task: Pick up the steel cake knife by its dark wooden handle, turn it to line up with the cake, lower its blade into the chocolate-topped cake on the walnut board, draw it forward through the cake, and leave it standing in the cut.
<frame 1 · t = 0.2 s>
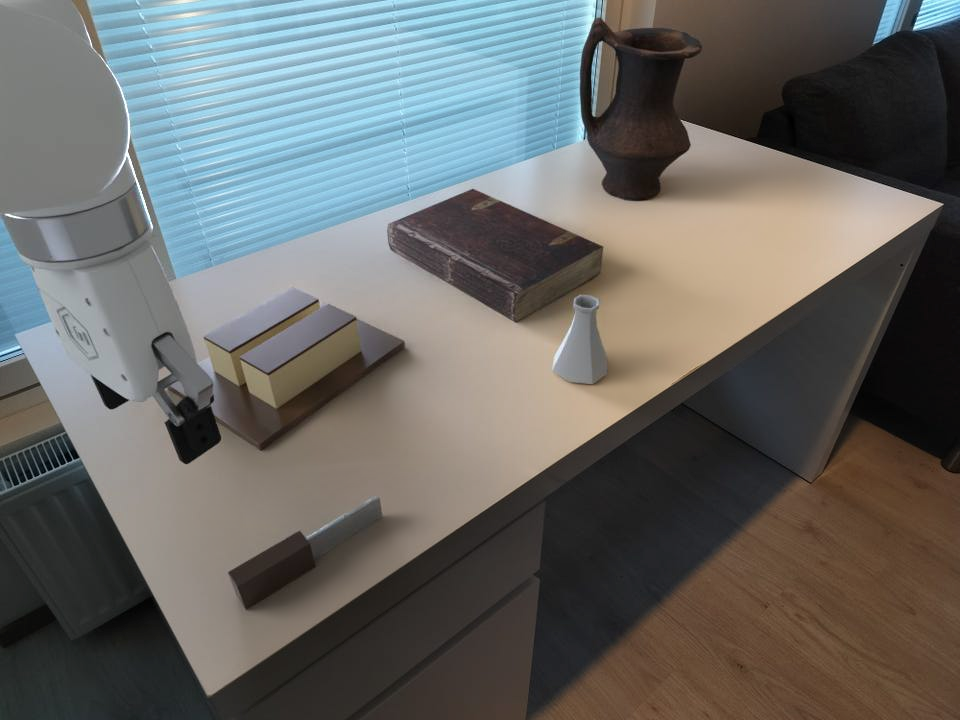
hand: (162, 424, 52), 19 cm above the table, tool pointing down, fingers open, 9 cm apart
cake board: (290, 367, 88), on the table
jug: (625, 189, 131), on the table
knife: (315, 557, 65), on the table
flask: (579, 368, 87), on the table
hardback book: (491, 263, 109), on the table
cake: (285, 343, 86), on the cake board, point 4 cm above the table
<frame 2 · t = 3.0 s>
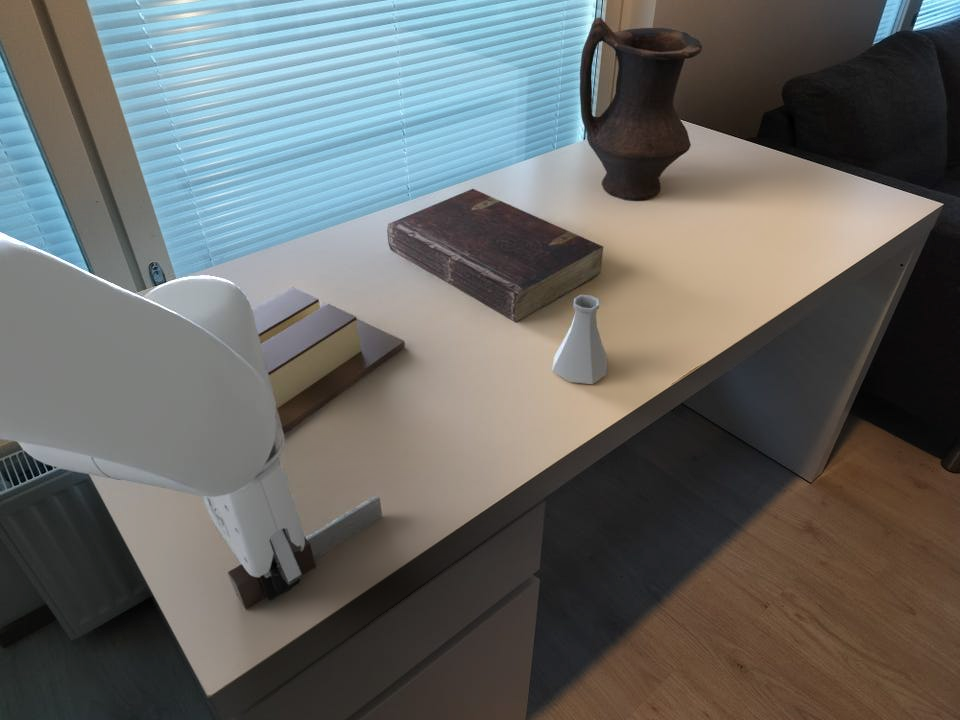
hand: (276, 578, 63), 0 cm above the table, tool pointing down, fingers closed on knife, 2 cm apart
knife: (315, 557, 65), on the table, touching gripper
everything else where it was.
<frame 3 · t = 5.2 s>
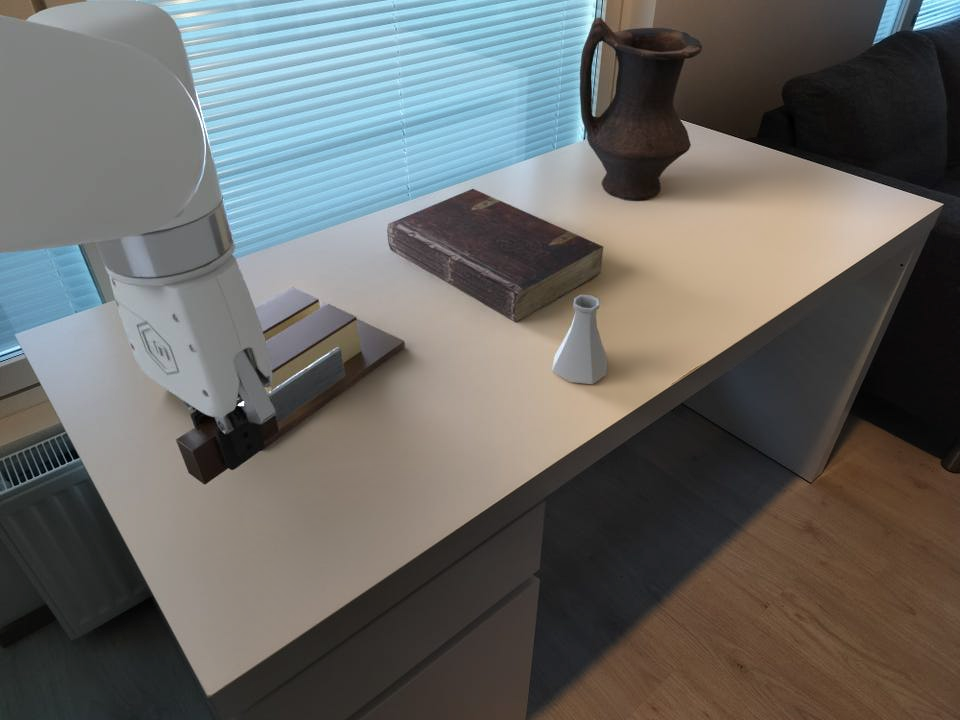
hand: (234, 448, 52), 17 cm above the table, tool pointing down, fingers closed on knife
knife: (276, 423, 55), point 17 cm above the table, touching gripper
everything else where it was.
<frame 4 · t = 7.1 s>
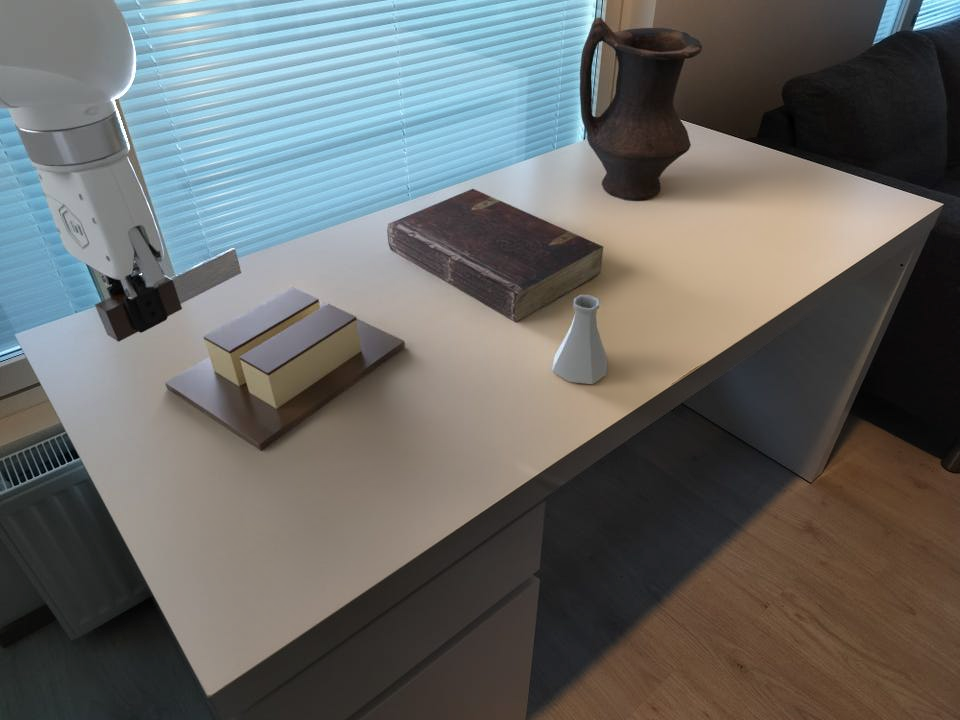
hand: (144, 319, 68), 16 cm above the table, tool pointing down, fingers closed on knife
knife: (181, 303, 70), point 16 cm above the table, touching gripper
everything else where it was.
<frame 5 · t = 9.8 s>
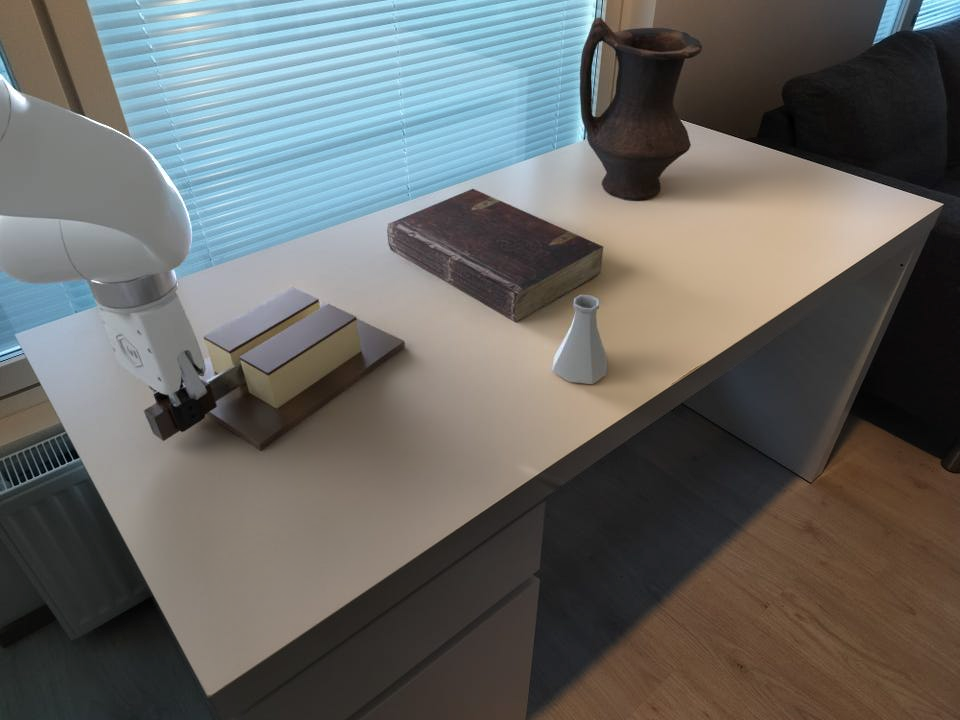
hand: (184, 418, 77), 2 cm above the table, tool pointing down, fingers closed on knife, 2 cm apart
knife: (215, 401, 80), point 2 cm above the table, touching gripper
everything else where it was.
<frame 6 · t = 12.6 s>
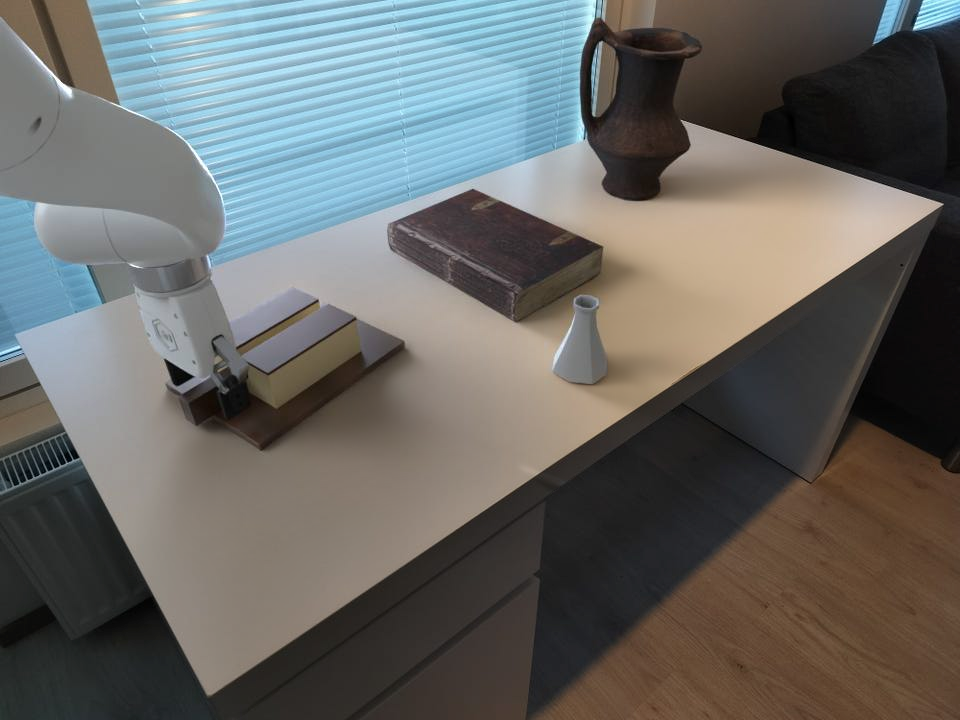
hand: (211, 395, 79), 3 cm above the table, tool pointing down, fingers open, 9 cm apart
knife: (244, 389, 83), point 1 cm above the table, touching cake board
everything else where it was.
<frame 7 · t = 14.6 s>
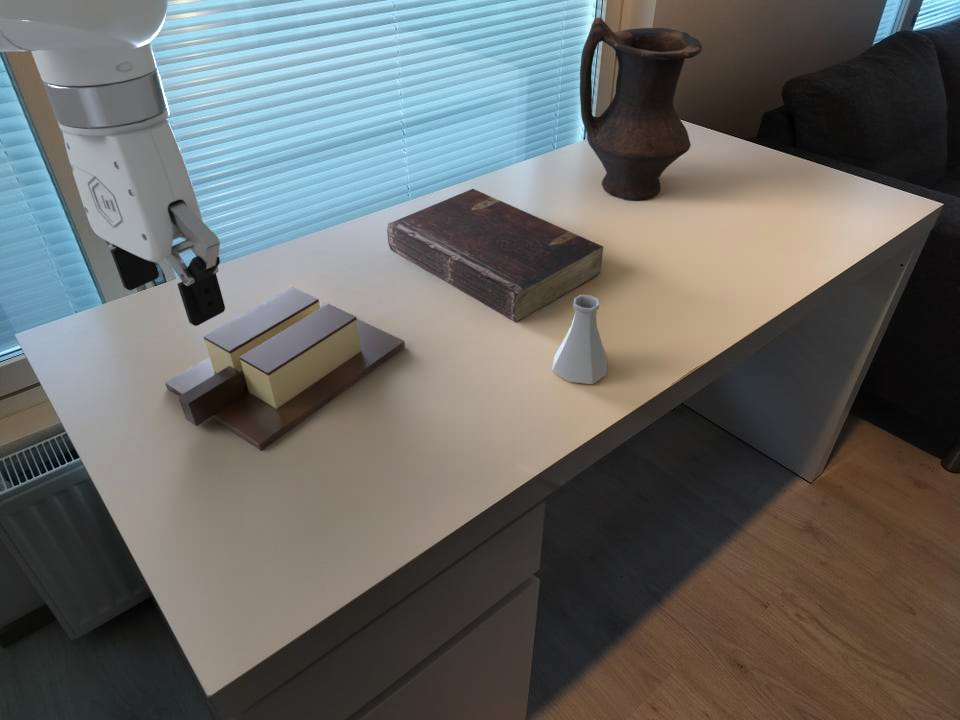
hand: (174, 299, 60), 22 cm above the table, tool pointing down, fingers open, 9 cm apart
nothing on the table moved.
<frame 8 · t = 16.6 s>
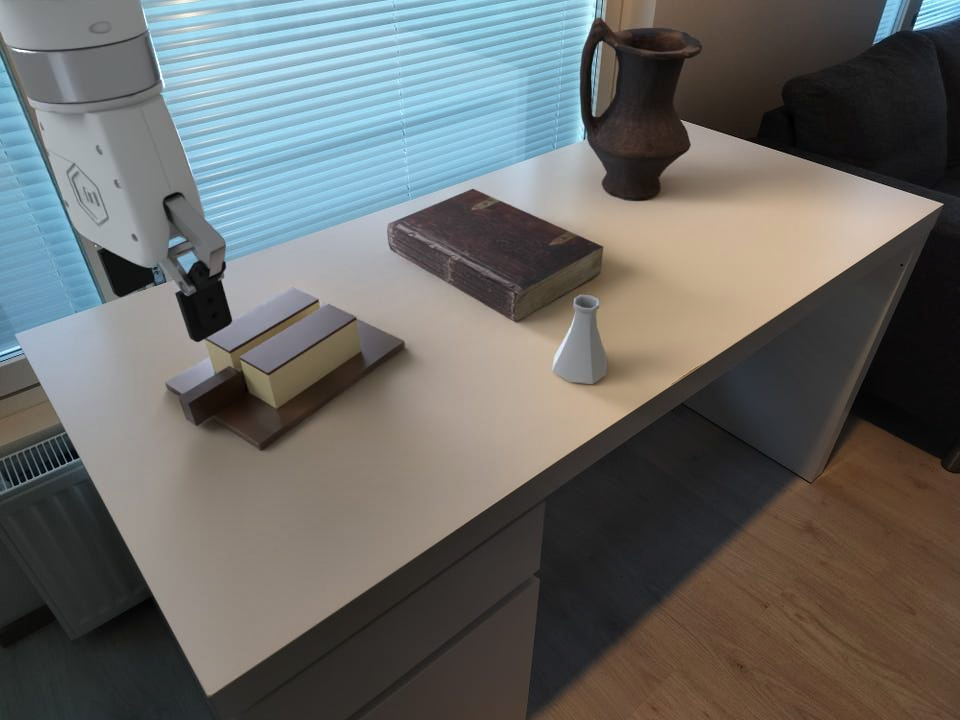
hand: (172, 309, 51), 26 cm above the table, tool pointing down, fingers open, 9 cm apart
nothing on the table moved.
at the end: knife 0.4 cm from the target spot on the cake, point 1.0 cm above the cake's base; knife tilted 0°; the gripper is holding nothing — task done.
